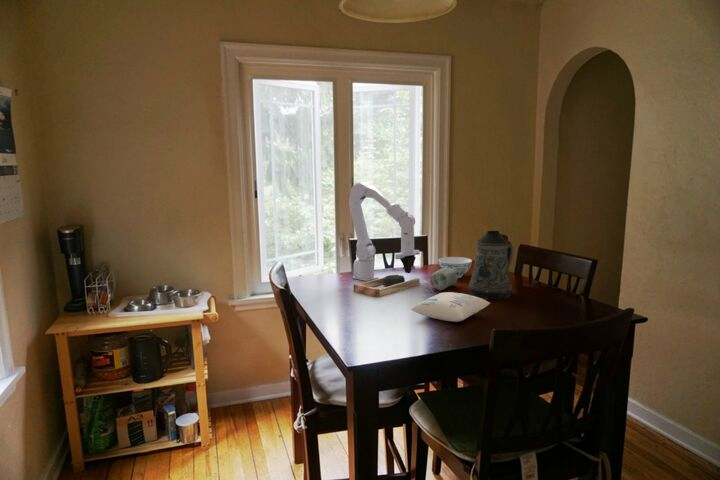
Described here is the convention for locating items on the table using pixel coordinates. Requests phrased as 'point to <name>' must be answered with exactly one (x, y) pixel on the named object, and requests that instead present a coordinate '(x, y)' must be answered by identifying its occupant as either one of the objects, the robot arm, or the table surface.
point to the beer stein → (492, 267)
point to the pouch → (450, 306)
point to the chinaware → (456, 264)
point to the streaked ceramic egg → (443, 278)
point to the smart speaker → (393, 280)
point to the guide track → (369, 290)
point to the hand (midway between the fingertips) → (407, 272)
